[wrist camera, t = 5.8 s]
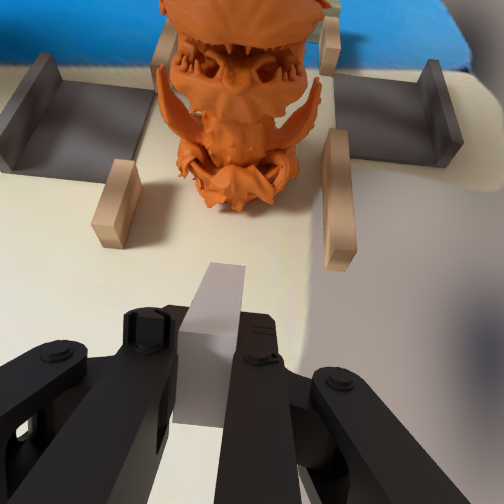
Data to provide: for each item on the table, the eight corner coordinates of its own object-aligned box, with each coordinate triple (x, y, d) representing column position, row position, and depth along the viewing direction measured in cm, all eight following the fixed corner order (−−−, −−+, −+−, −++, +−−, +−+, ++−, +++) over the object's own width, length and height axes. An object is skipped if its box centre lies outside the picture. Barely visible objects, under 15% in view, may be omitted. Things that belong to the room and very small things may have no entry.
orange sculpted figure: (159, 227, 29) (84, -61, 13) (178, 129, 34) (142, -152, 19) (302, 236, 29) (392, -31, 14) (298, 139, 35) (359, -129, 19)
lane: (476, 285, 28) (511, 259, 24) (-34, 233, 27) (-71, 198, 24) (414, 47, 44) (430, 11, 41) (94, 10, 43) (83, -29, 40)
